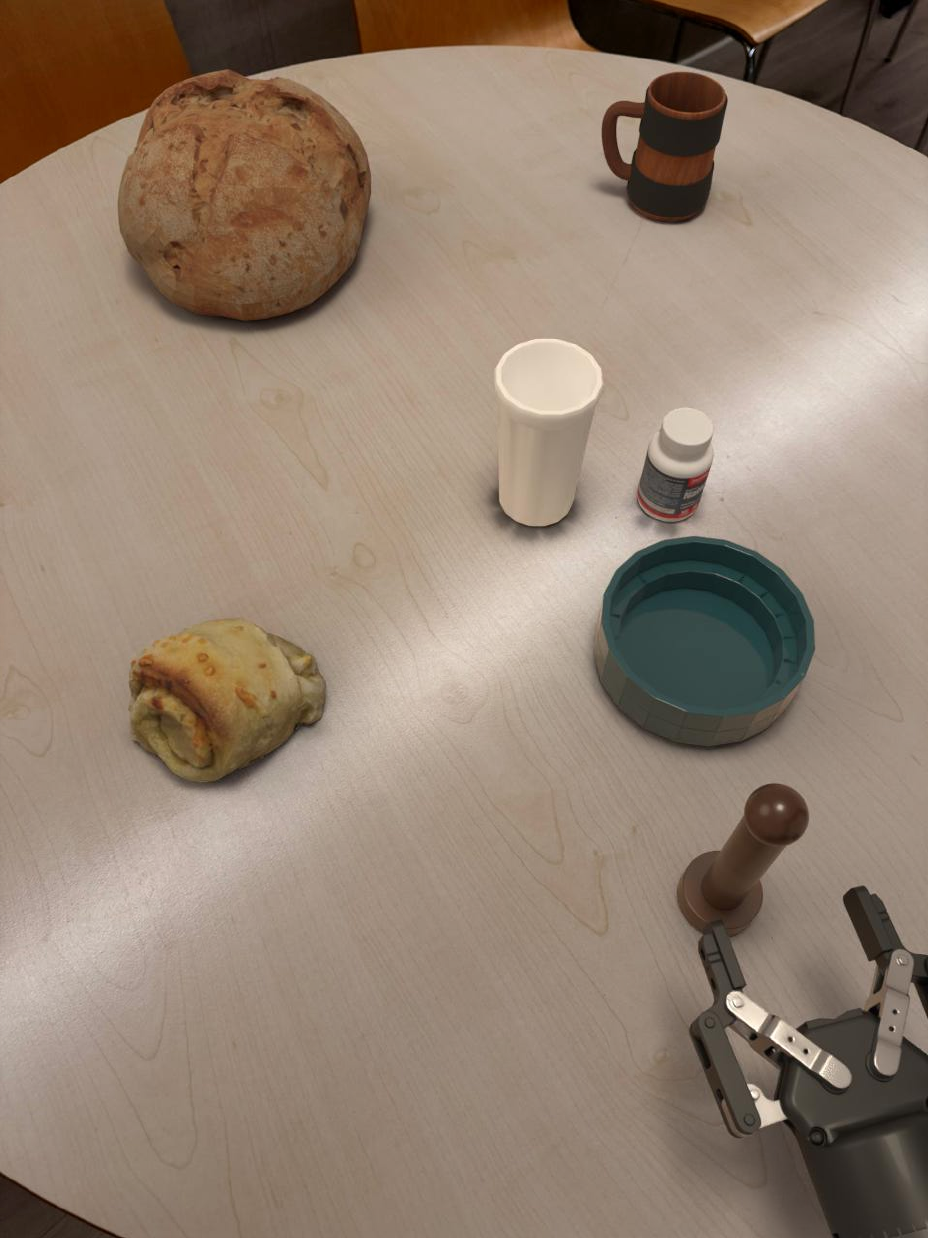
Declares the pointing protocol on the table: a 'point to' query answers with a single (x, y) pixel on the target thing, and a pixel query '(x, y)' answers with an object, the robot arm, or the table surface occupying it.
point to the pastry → (221, 697)
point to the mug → (669, 144)
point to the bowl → (702, 640)
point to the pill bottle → (677, 465)
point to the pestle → (743, 860)
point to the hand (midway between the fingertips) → (782, 907)
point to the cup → (543, 426)
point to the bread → (244, 195)
